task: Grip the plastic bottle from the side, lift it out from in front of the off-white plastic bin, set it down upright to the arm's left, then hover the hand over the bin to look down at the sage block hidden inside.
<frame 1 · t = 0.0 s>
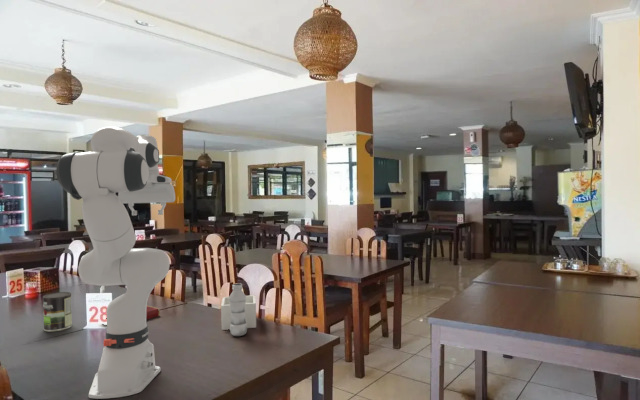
hand: (147, 215, 157), 48 cm above the table, tool pointing down, fingers open, 8 cm apart
hardcover book: (130, 321, 184), on the table
plastic bottle: (238, 335, 161), on the table
bin: (239, 323, 175), on the table
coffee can: (58, 328, 175), on the table
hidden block: (239, 319, 175), in the bin
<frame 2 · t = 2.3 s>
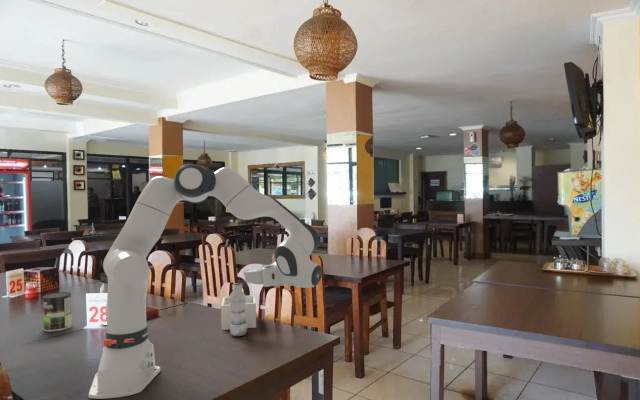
hand: (254, 270, 154), 27 cm above the table, tool horizontal, fingers open, 8 cm apart
nothing on the table moved.
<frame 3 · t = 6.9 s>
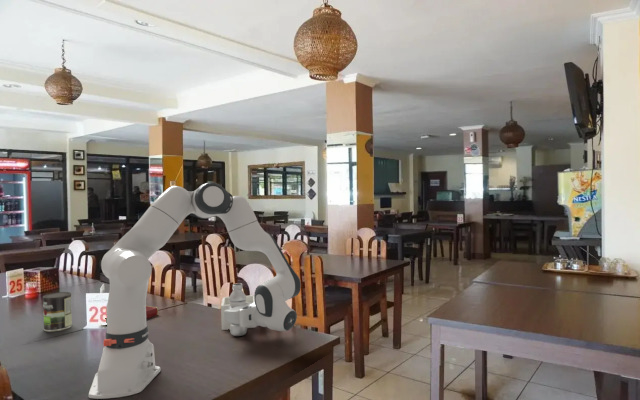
hand: (236, 306, 161), 11 cm above the table, tool horizontal, fingers closed on plastic bottle, 6 cm apart
plastic bottle: (238, 335, 161), on the table, touching gripper
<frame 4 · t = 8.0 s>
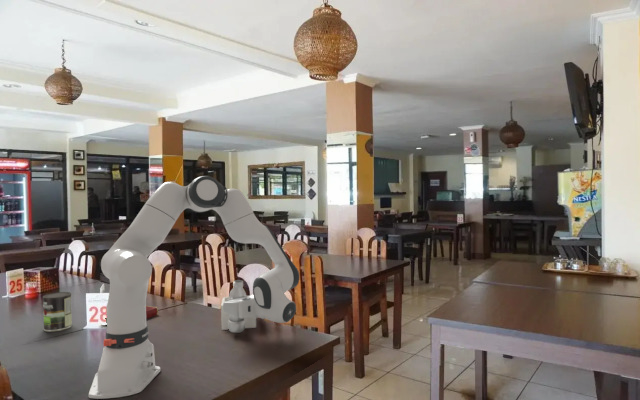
hand: (235, 299, 161), 14 cm above the table, tool horizontal, fingers closed on plastic bottle, 6 cm apart
plastic bottle: (236, 332, 161), point 1 cm above the table, touching gripper
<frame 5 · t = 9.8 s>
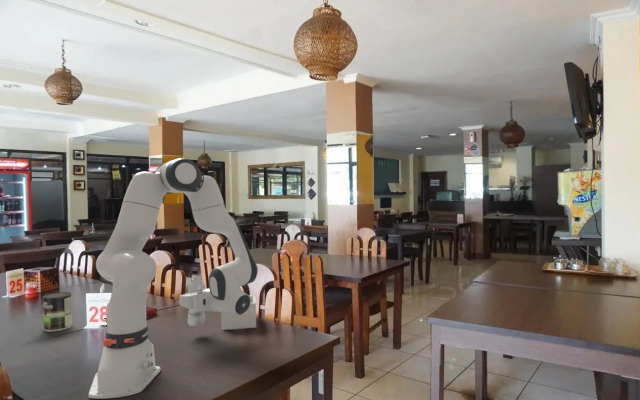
hand: (194, 293, 161), 17 cm above the table, tool horizontal, fingers closed on plastic bottle, 6 cm apart
plastic bottle: (196, 325, 161), point 4 cm above the table, touching gripper
when the fingers open (12 cm above the table, at t = 11.3 s): plastic bottle stays where it is, on the table.
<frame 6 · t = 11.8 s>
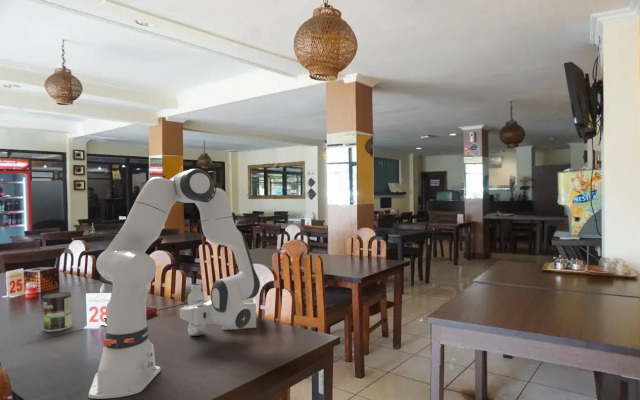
hand: (195, 305, 161), 12 cm above the table, tool horizontal, fingers open, 8 cm apart
plastic bottle: (196, 335, 162), on the table
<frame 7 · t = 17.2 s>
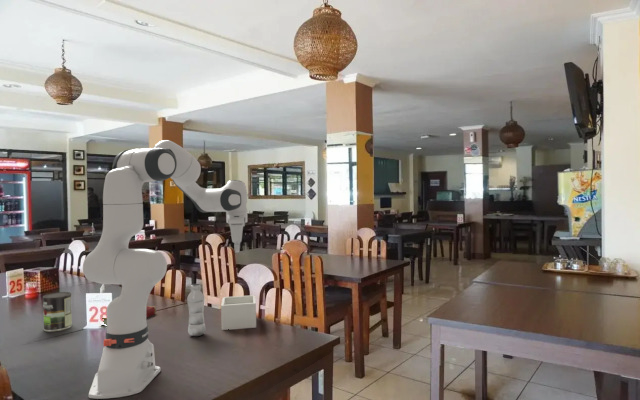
hand: (237, 250, 175), 31 cm above the table, tool pointing down, fingers open, 8 cm apart
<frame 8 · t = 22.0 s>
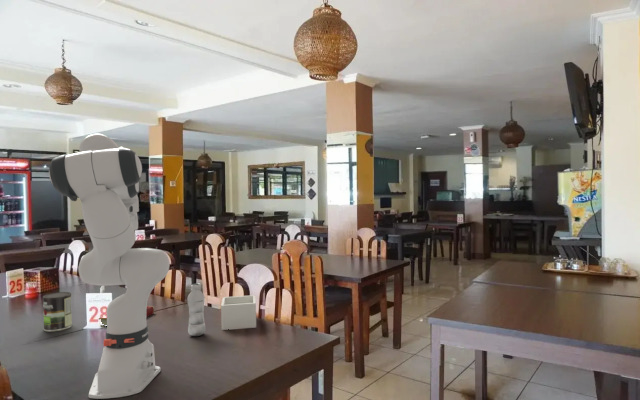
hand: (127, 243, 157), 37 cm above the table, tool pointing down, fingers open, 8 cm apart
at the end: plastic bottle inside the target area (0.9 cm from its centre), on the table; plastic bottle tilted 1°; the gripper is holding nothing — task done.
